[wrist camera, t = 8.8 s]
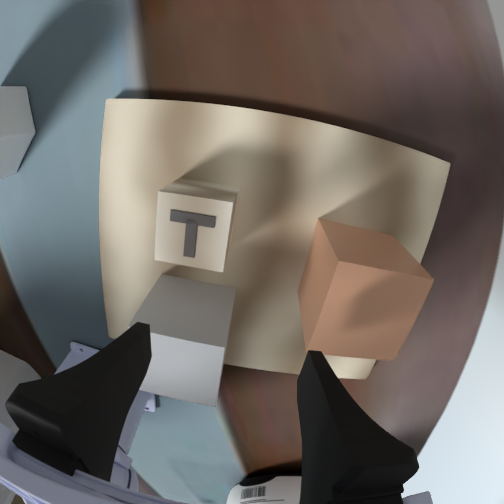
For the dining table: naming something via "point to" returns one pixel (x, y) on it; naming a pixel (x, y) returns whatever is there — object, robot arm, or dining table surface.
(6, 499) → the white triangular prism
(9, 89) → the jar
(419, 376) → the dining table surface
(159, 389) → the grey cover
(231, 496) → the milk container
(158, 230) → the letter cube
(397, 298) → the terracotta cover
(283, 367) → the birch board
